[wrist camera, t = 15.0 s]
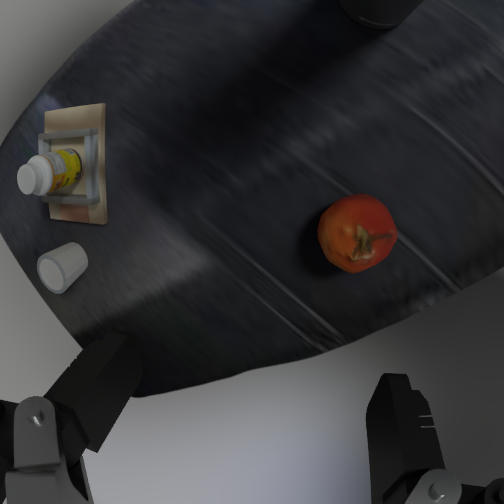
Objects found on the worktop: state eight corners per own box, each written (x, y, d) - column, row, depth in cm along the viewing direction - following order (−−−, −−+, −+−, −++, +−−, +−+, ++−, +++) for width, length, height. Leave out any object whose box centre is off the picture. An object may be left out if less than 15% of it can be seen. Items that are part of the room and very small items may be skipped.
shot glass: (88, 241, 47) (62, 258, 41) (93, 278, 50) (69, 298, 44) (59, 236, 48) (33, 251, 42) (64, 271, 51) (40, 289, 44)
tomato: (305, 238, 41) (304, 264, 34) (336, 174, 37) (344, 187, 30) (366, 267, 41) (376, 297, 34) (399, 207, 37) (419, 227, 30)
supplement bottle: (65, 187, 43) (20, 205, 34) (56, 155, 41) (9, 167, 32) (89, 176, 42) (43, 193, 32) (79, 142, 40) (31, 151, 30)
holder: (49, 111, 39) (36, 112, 37) (105, 103, 38) (93, 103, 35) (54, 216, 47) (43, 222, 44) (108, 222, 45) (97, 229, 42)
